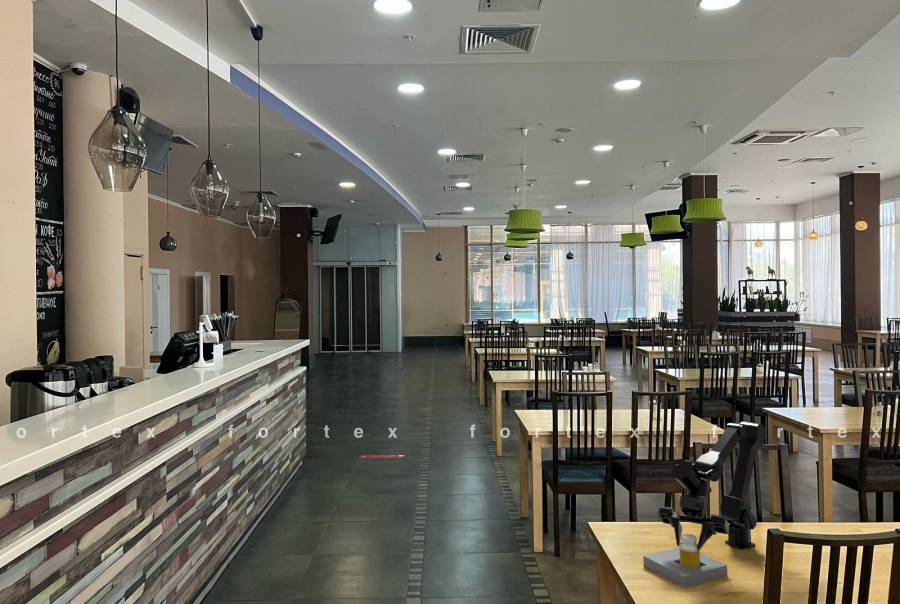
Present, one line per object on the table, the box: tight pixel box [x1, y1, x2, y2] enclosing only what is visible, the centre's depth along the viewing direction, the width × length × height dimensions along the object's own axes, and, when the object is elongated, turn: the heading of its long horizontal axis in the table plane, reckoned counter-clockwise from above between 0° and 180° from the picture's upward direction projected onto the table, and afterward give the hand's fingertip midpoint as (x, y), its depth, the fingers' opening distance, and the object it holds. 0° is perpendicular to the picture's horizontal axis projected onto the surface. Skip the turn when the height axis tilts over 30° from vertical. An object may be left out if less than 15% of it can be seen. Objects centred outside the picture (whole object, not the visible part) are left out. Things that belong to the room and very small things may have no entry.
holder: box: [642, 546, 728, 589], centre depth 177 cm, size 16×16×3 cm
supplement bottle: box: [678, 533, 701, 569], centre depth 175 cm, size 5×5×10 cm
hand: (688, 547), depth 174 cm, fingers closed on supplement bottle, 5 cm apart
